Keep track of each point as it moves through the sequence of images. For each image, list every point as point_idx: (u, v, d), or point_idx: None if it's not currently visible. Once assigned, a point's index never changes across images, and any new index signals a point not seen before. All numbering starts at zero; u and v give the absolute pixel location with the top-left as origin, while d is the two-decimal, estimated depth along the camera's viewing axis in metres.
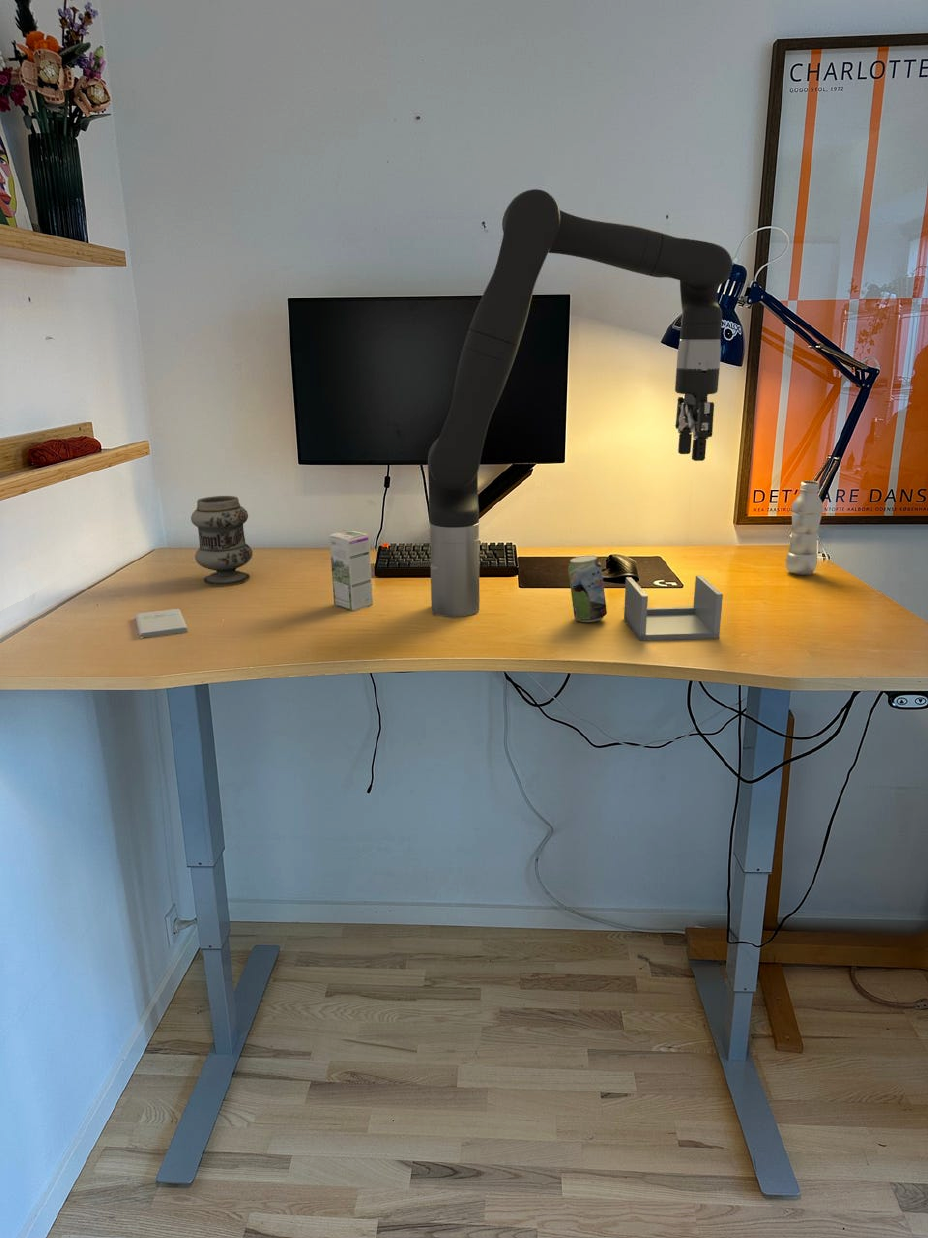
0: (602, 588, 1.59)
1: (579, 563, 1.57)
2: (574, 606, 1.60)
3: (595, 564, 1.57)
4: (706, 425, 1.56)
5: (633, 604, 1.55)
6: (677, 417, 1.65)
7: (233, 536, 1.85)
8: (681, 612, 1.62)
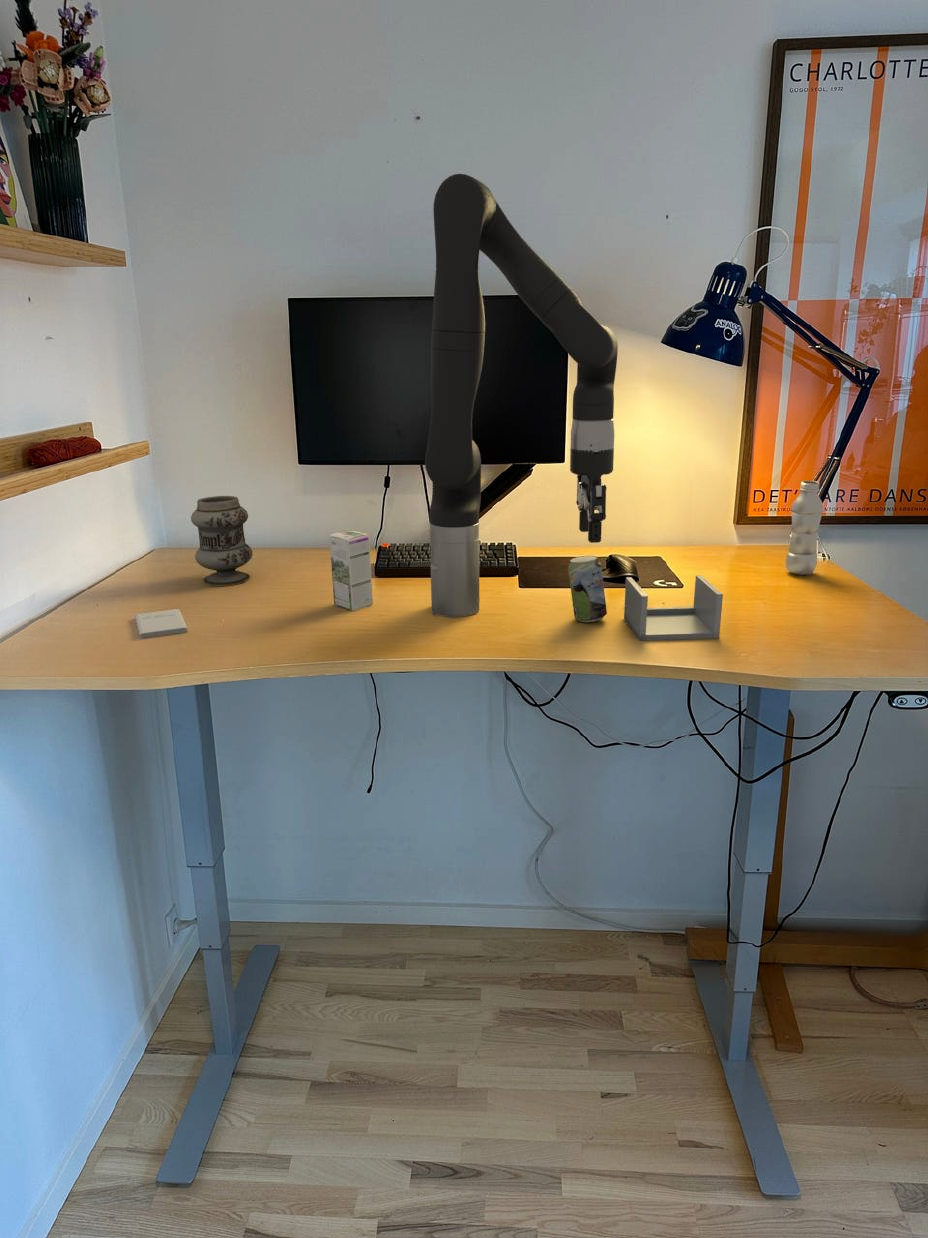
0: (602, 588, 1.59)
1: (579, 563, 1.57)
2: (574, 606, 1.60)
3: (595, 564, 1.57)
4: (601, 507, 1.51)
5: (633, 604, 1.55)
6: (577, 494, 1.61)
7: (233, 536, 1.85)
8: (681, 612, 1.62)
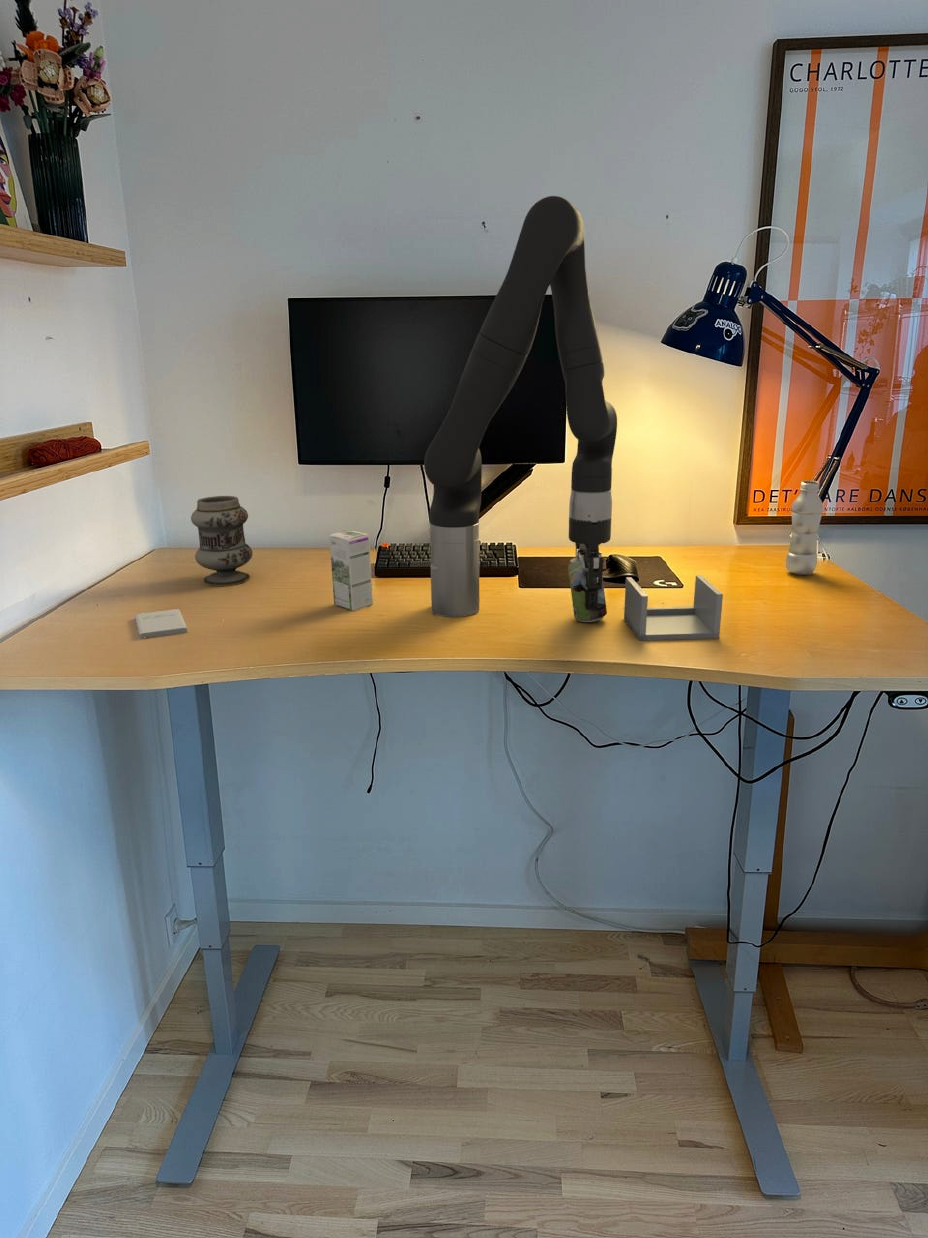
0: (602, 588, 1.59)
1: (579, 563, 1.57)
2: (574, 606, 1.60)
3: None
4: None
5: (633, 604, 1.55)
6: None
7: (233, 536, 1.85)
8: (681, 612, 1.62)
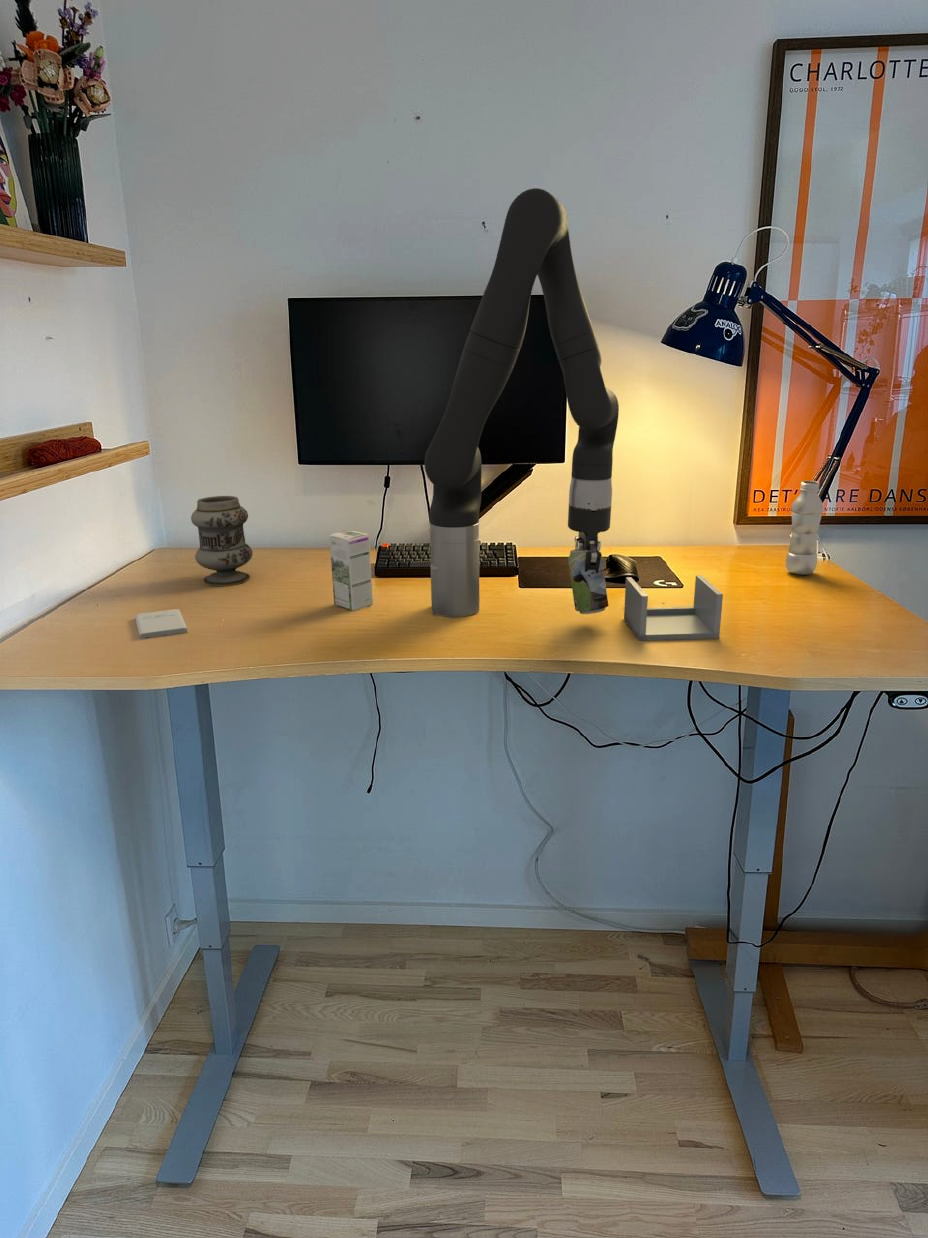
0: (603, 579, 1.56)
1: (579, 552, 1.54)
2: (575, 597, 1.57)
3: None
4: None
5: (633, 604, 1.55)
6: None
7: (233, 536, 1.85)
8: (681, 612, 1.62)
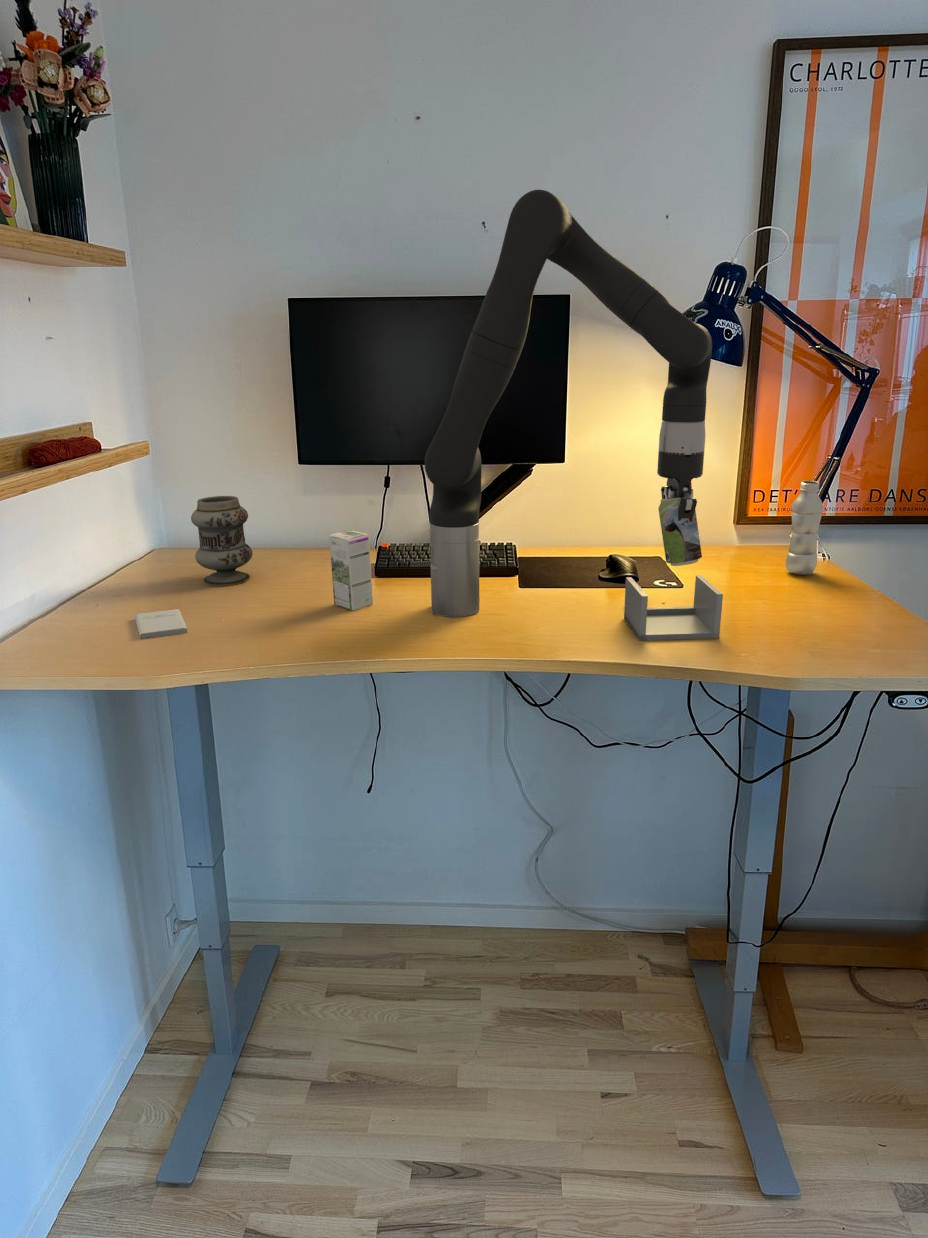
0: (696, 528, 1.48)
1: (671, 500, 1.46)
2: (666, 548, 1.49)
3: None
4: None
5: (633, 604, 1.55)
6: None
7: (233, 536, 1.85)
8: (681, 612, 1.62)
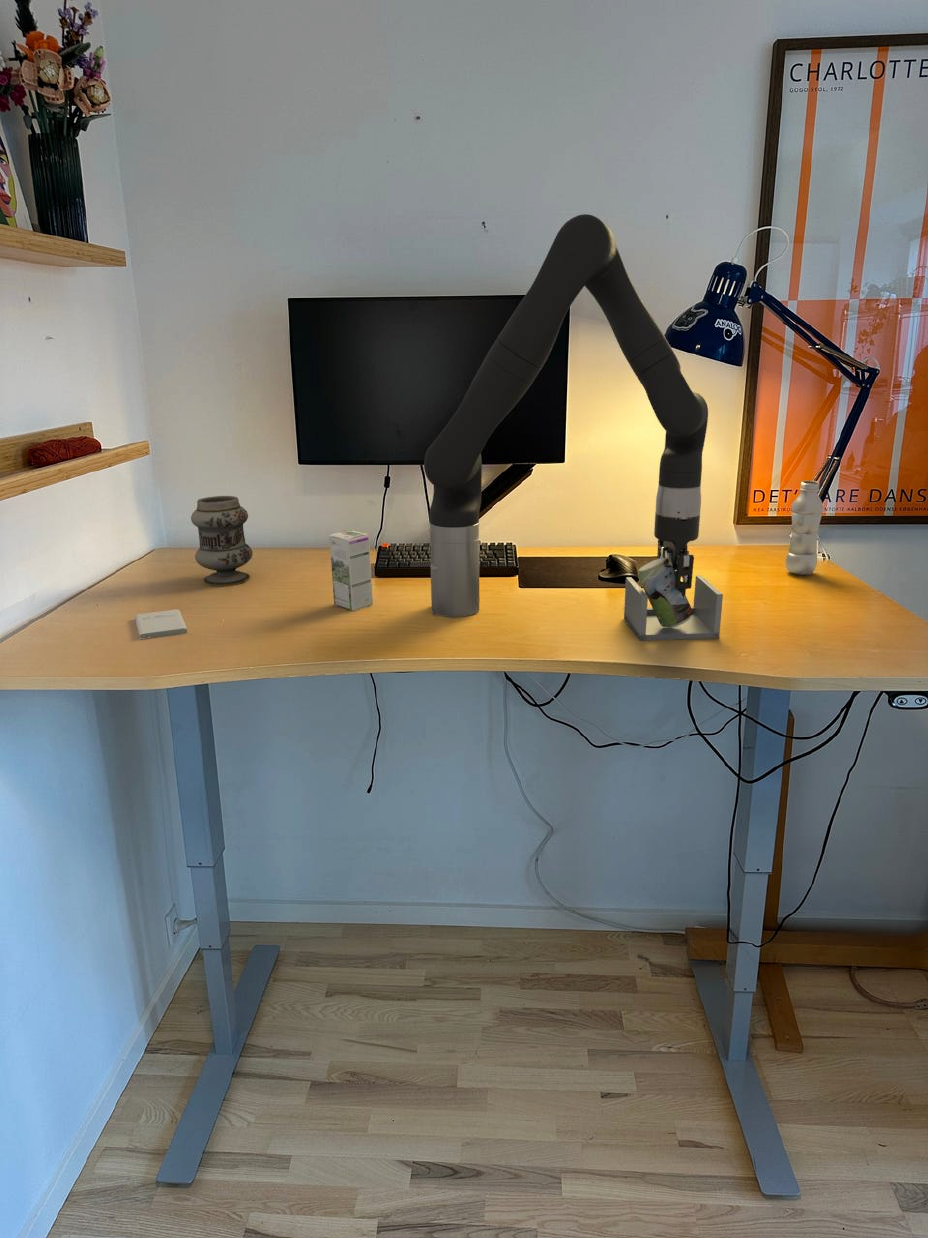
0: None
1: (648, 570, 1.49)
2: (657, 614, 1.52)
3: (665, 566, 1.49)
4: None
5: (633, 604, 1.55)
6: (658, 558, 1.59)
7: (233, 536, 1.85)
8: None
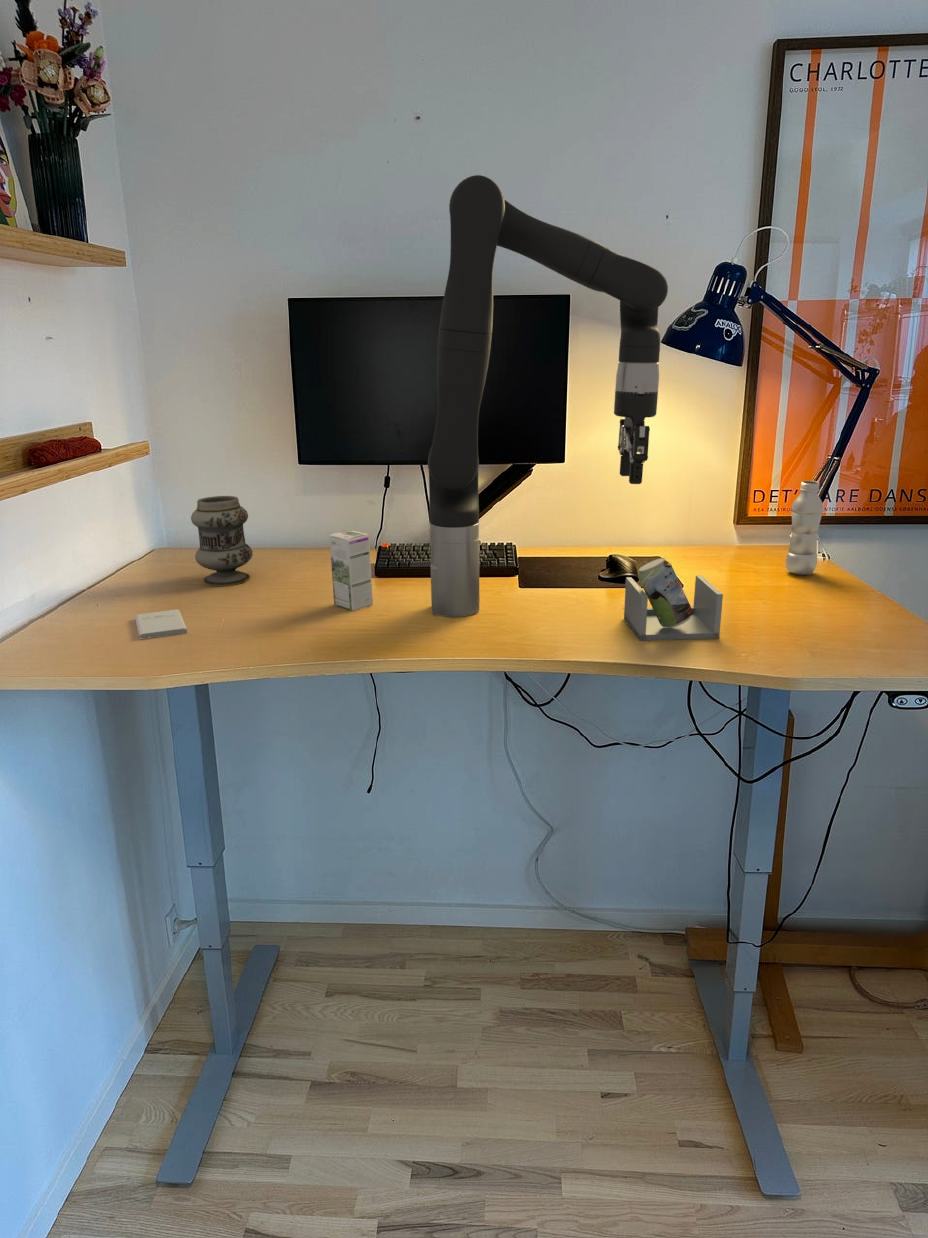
0: (680, 588, 1.50)
1: (648, 570, 1.49)
2: (657, 614, 1.52)
3: (665, 566, 1.49)
4: (643, 448, 1.55)
5: (633, 604, 1.55)
6: (619, 439, 1.64)
7: (233, 536, 1.85)
8: None
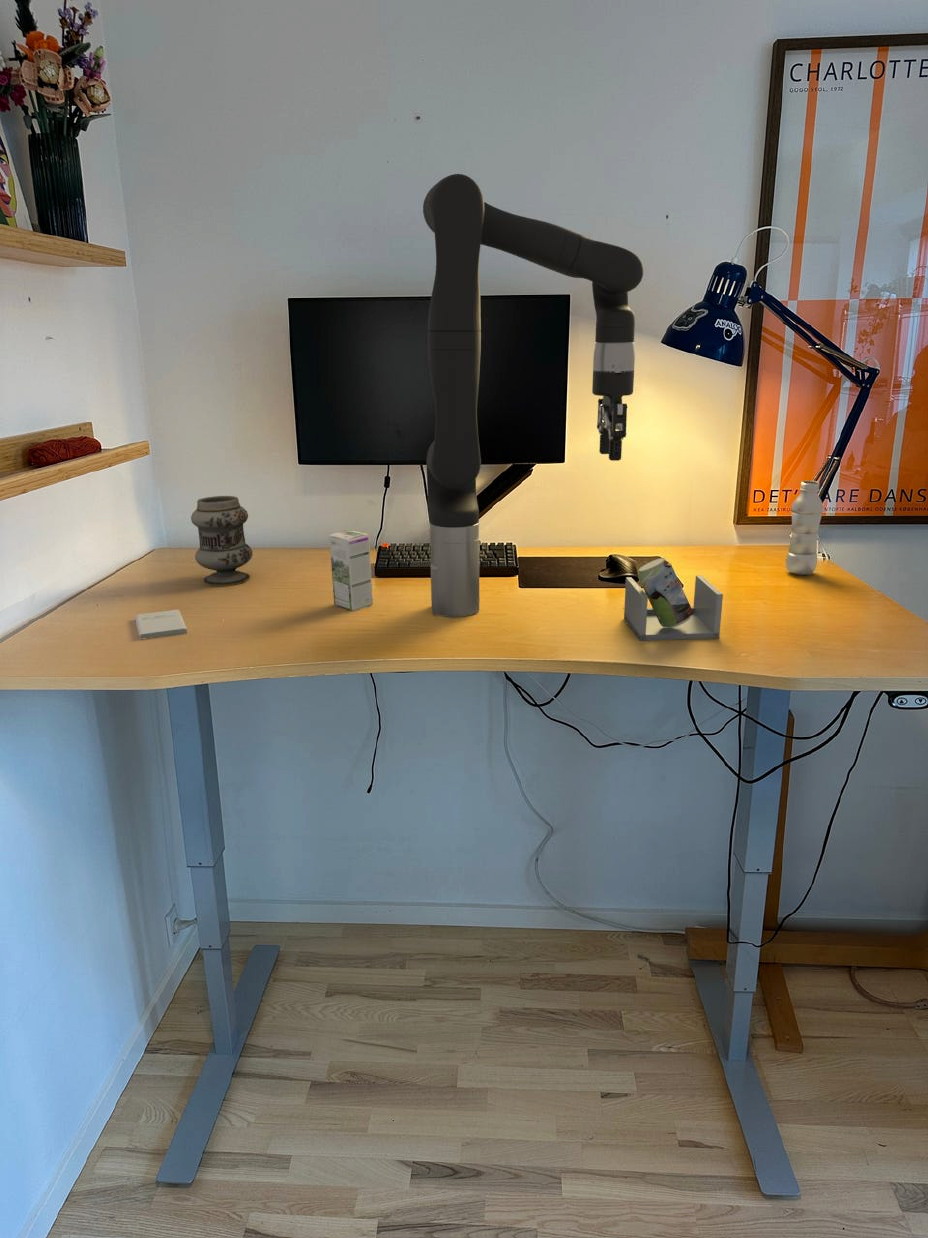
0: (680, 588, 1.50)
1: (648, 570, 1.49)
2: (657, 614, 1.52)
3: (665, 566, 1.49)
4: (621, 426, 1.60)
5: (633, 604, 1.55)
6: (598, 418, 1.70)
7: (233, 536, 1.85)
8: None
